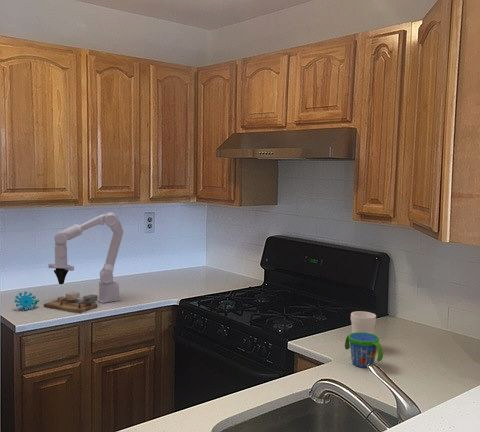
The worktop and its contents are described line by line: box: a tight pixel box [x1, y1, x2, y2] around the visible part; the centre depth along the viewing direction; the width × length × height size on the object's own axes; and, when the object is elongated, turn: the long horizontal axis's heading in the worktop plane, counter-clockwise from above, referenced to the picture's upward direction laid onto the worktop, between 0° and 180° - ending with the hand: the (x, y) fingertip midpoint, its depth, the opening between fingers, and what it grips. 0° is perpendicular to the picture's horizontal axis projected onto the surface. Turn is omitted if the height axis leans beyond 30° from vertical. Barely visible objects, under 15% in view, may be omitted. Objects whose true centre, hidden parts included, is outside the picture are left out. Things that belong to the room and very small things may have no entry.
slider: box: [59, 291, 81, 304], centre depth 258 cm, size 11×4×4 cm, turn 155°
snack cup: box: [344, 332, 384, 368], centre depth 191 cm, size 16×10×10 cm
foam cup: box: [350, 310, 377, 334], centre depth 208 cm, size 10×9×13 cm
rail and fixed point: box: [56, 294, 98, 307], centre depth 257 cm, size 11×21×4 cm, turn 65°
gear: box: [14, 291, 40, 312], centre depth 253 cm, size 11×6×10 cm
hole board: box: [43, 299, 98, 314], centre depth 256 cm, size 12×22×2 cm, turn 65°
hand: (61, 283), depth 263 cm, fingers closed
